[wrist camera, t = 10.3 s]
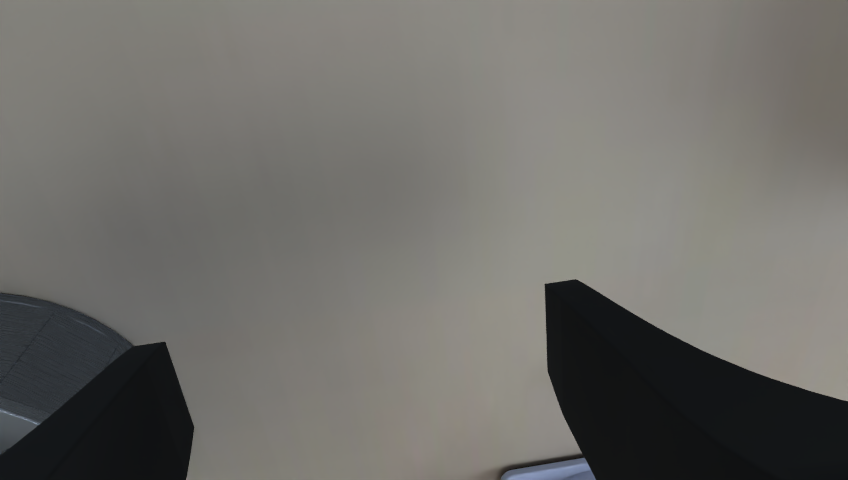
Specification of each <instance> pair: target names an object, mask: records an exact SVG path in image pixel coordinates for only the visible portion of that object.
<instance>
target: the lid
mask: <svg viewBox="0 0 848 480" xmlns="http://www.w3.org/2000/svg"><path fill="white" fill-rule="evenodd" d="M50 415H51V414H49V413H47V412H44V411H42V410H40V409H38V408H35V407H32V406H29V405H26V404H23V403H20V402H17V401H14V400H11V399H8V398H4V397H0V455H2V454H3V453H4V452H6V451H7V450H8V449H9V448H11V447H12V446H13V445H14V444H16V443H17V442H18V441H19V440H21V439H22V438H23V437H24V436H26V435H27V434H28V433H29V432H31V431H32V430H33V429H34V428H36V427H37V426H38V425H39V424H41V423H42V422H43V421H44V420H46V419H47V418H48V417H49V416H50Z"/></svg>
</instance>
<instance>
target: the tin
mask: <svg viewBox="0 0 848 480" xmlns="http://www.w3.org/2000/svg"><path fill="white" fill-rule="evenodd" d="M131 347H134V346H133V345H132V344H131V343H129V342H128V341H127V340H125V339H124V338H123V337H121V336H120V335H119V334H117V333H116V332H115V331H113V330H112V329H110V328H108V327H106V326H105V325H103V324H101V323H100V322H98V321H96V320H94V319H92V318H90V317H88V316H86V315H84V314H81V313H79V312H77V311H75V310H73V309H70V308H67V307H64V306H61V305H58V304H55V303H52V302H48V301H44V300H40V299H35V298H31V297H26V296H19V295H11V294H3V293H0V397H4V398H8V399H11V400H14V401H17V402H20V403H23V404H26V405H29V406H32V407H35V408H38V409H40V410H42V411H44V412H47V413H49V414H51V415H52V414H53V413H54V412H55V411H56V410H57V409H59V408H60V407H61V406H62V405H63V404H64V403H66V402H67V401H68V400H69V399H70V398H71V397H73V396H74V395H75V394H76V393H77V392H78V391H79V390H81V389H82V388H83V387H84V386H85V385H86V384H88V383H89V382H90V381H91V380H92V379H93V378H94V377H96V376H97V375H98V374H99V373H100V372H101V371H102V370H104V369H105V368H106V367H107V366H108V365H110V364H111V363H112V362H113V361H114V360H115V359H117V358H118V357H119V356H120V355H122V354H123V353H124V352H126V351H127V350H128V349H130V348H131Z"/></svg>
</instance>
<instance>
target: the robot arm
mask: <svg viewBox="0 0 848 480" xmlns="http://www.w3.org/2000/svg"><path fill="white" fill-rule="evenodd" d="M545 303H546V334H547V365H548V373H549V376H550V379H551V382H552V385H553V388H554V391H555V394H556V397H557V399H558V402H559V405H560V408H561V410H562V413H563V416H564V418H565V420H566V422H567V424H568V426H569V428H570V430H571V432H572V434H573V436H574V438H575V440H576V442H577V444H578V446H579V448H580V450H581V452H582V453H583V455H584V457H585V458H580V459H574V460H568V461H562V462H556V463H550V464H544V465H538V466H532V467H526V468H520V469H514V470H510V471H507V472H506V473H504V474H503V475H502V477H501V480H848V401H844V400H840V399H836V398H832V397H829V396H825V395H822V394H818V393H815V392H811V391H808V390H805V389H802V388H799V387H796V386H793V385H789V384H786V383H783V382H780V381H777V380H774V379H771V378H768V377H766V376H763V375H760V374H757V373H755V372H752V371H749V370H747V369H744V368H742V367H739V366H737V365H735V364H732V363H730V362H727V361H725V360H722V359H720V358H718V357H715V356H713V355H711V354H709V353H706V352H704V351H702V350H700V349H698V348H696V347H694V346H692V345H690V344H688V343H686V342H684V341H682V340H680V339H678V338H676V337H674V336H672V335H670V334H668V333H666V332H665V331H663V330H661V329H659V328H657V327H655V326H654V325H652V324H650V323H648V322H647V321H645V320H643V319H641V318H640V317H638V316H636V315H635V314H633V313H631V312H629V311H628V310H626V309H625V308H623V307H621V306H620V305H618V304H616V303H615V302H613V301H611V300H610V299H608V298H607V297H605V296H603V295H602V294H600V293H599V292H597V291H595V290H594V289H592V288H590V287H589V286H587V285H585V284H584V283H582V282H580V281H578V280H576V279H575V280H568V281H562V282H555V283H549V284H545ZM193 432H194V425H193V422H192V419H191V416H190V414H189V411H188V408H187V405H186V402H185V399H184V396H183V393H182V390H181V387H180V384H179V381H178V378H177V375H176V372H175V369H174V366H173V363H172V360H171V357H170V354H169V351H168V348H167V345H166V342H160V343H154V344H147V345H141V346H134V347H131V348H130V349H128V350H127V351H126V352H124V353H123V354H122V355H120V356H119V357H118V358H117V359H115V360H114V361H113V362H112V363H111V364H110V365H108V366H107V367H106V368H105V369H104V370H102V371H101V372H100V373H99V374H98V375H97V376H96V377H94V378H93V379H92V380H91V381H90V382H89V383H88V384H86V385H85V386H84V387H83V388H82V389H81V390H79V391H78V392H77V393H76V394H75V395H74V396H73V397H71V398H70V399H69V400H68V401H67V402H66V403H64V404H63V405H62V406H61V407H60V408H59V409H57V410H56V411H55V412H54V413H53V414H52V415H50V416H49V417H48V418H47V419H46V420H44V421H43V422H42V423H41V424H39V425H38V426H37V427H36V428H34V429H33V430H32V431H31V432H29V433H28V434H27V435H26V436H24V437H23V438H22V439H21V440H19V441H18V442H17V443H16V444H14V445H13V446H12V447H11V448H9V449H8V450H7V451H6V452H4V453H3V454H2V455H0V480H186V477H187V471H188V465H189V459H190V453H191V446H192V439H193Z"/></svg>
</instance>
